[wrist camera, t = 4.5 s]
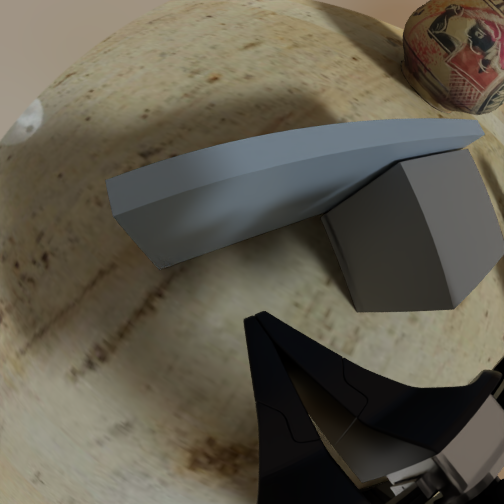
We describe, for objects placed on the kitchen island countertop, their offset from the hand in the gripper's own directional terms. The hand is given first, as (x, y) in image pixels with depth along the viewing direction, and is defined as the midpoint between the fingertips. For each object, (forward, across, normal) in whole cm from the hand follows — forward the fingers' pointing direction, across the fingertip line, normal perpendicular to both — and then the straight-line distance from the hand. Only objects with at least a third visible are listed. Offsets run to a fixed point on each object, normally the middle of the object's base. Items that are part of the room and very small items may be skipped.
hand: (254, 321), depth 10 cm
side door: (+8, -7, +1) cm, 10 cm away
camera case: (+5, -12, +5) cm, 14 cm away
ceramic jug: (+16, -34, -6) cm, 38 cm away
